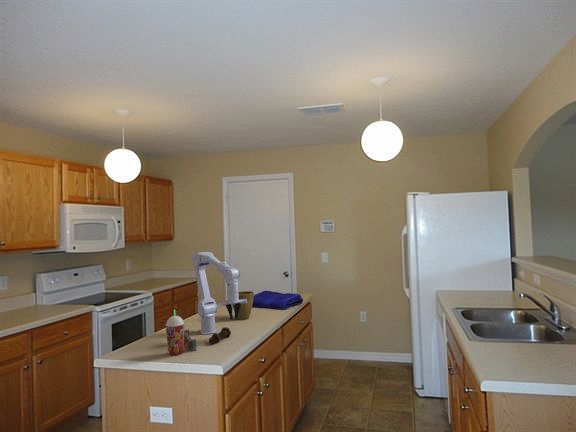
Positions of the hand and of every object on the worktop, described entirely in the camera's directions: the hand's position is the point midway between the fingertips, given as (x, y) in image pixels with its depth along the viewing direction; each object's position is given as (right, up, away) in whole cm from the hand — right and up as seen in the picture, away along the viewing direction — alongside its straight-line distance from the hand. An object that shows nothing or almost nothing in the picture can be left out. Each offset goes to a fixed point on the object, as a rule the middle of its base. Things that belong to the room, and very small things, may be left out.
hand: (233, 318), depth 205 cm
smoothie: (-23, -11, -22) cm, 34 cm away
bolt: (-7, -11, -4) cm, 13 cm away
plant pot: (0, -11, +44) cm, 45 cm away
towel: (+18, -12, +84) cm, 86 cm away
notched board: (-21, -11, -9) cm, 26 cm away
